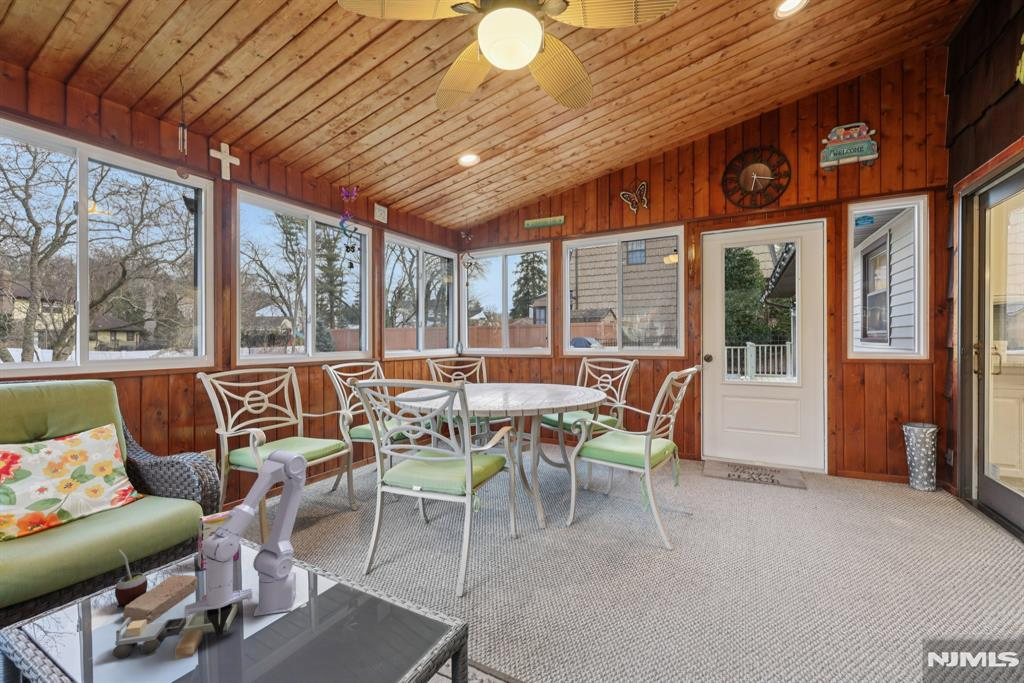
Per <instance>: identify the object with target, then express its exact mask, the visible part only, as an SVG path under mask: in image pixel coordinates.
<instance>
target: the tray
mask: <svg viewBox="0 0 1024 683" xmlns="http://www.w3.org/2000/svg"><path fill="white" fill-rule="evenodd" d="M237 613H238V604H237V603H236V604H235V603H234V604H232V610H231V613H230V614H229V616H228V618H227V620H226V623H225V626H224V629H223V632H225V631H226V632H227V631H228V630H229V629H230V626H231V625H232V623H233V620H234V619H235V617H236V614H237ZM219 625H220V608H219ZM196 630H202V635H206V634H214V633H215V629H214V627H213V625H212V623H210V624H204V611H201V612H198V613H194V614H191V615H190V618H189V619H188V620H187V621H186V625H185V626H184V628H183V629H182V637H183V636H184V634H185V632H189V631H196Z"/></svg>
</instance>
